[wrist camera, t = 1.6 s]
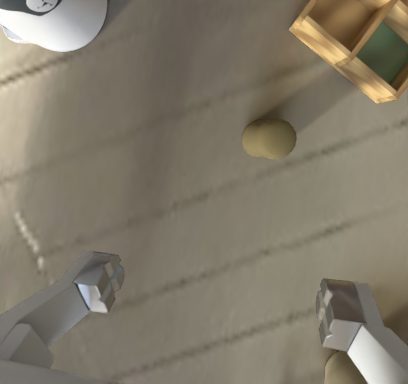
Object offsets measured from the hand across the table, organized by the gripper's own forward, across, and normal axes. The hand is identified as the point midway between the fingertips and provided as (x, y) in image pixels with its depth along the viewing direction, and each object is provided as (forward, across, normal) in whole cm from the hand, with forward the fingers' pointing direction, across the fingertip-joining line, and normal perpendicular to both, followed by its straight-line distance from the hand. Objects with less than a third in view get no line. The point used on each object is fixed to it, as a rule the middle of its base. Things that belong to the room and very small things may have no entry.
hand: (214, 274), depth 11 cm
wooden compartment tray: (+46, -17, -6) cm, 50 cm away
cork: (+36, -2, +10) cm, 37 cm away
